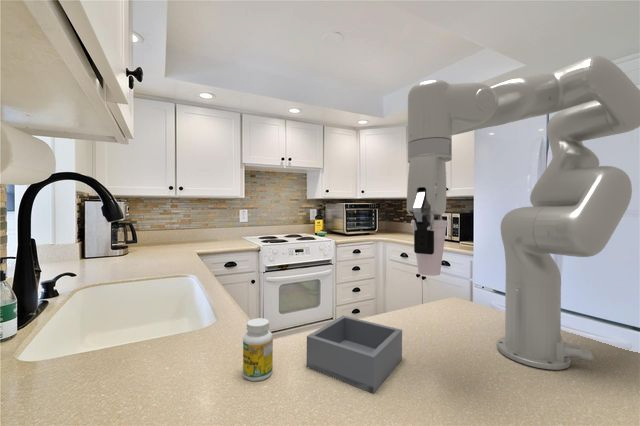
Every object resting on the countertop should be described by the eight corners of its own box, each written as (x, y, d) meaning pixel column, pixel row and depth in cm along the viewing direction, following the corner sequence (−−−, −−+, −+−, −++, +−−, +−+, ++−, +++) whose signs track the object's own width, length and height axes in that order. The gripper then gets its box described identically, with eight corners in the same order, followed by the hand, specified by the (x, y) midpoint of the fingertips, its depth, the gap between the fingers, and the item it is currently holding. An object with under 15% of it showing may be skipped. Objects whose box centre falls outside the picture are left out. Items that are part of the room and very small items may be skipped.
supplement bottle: (278, 370, 54) (278, 320, 54) (259, 385, 49) (259, 329, 50) (256, 363, 57) (257, 314, 57) (236, 376, 52) (236, 323, 52)
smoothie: (452, 278, 49) (452, 195, 49) (412, 276, 50) (412, 195, 50) (443, 270, 55) (443, 197, 55) (409, 269, 56) (409, 198, 56)
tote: (401, 358, 59) (402, 329, 59) (373, 393, 48) (374, 357, 48) (342, 341, 67) (343, 315, 67) (306, 367, 55) (306, 336, 56)
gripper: (421, 162, 62) (421, 245, 62) (392, 146, 47) (392, 255, 47) (459, 158, 57) (459, 248, 57) (440, 140, 43) (440, 259, 43)
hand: (429, 250), depth 52 cm, fingers closed on smoothie, 6 cm apart
